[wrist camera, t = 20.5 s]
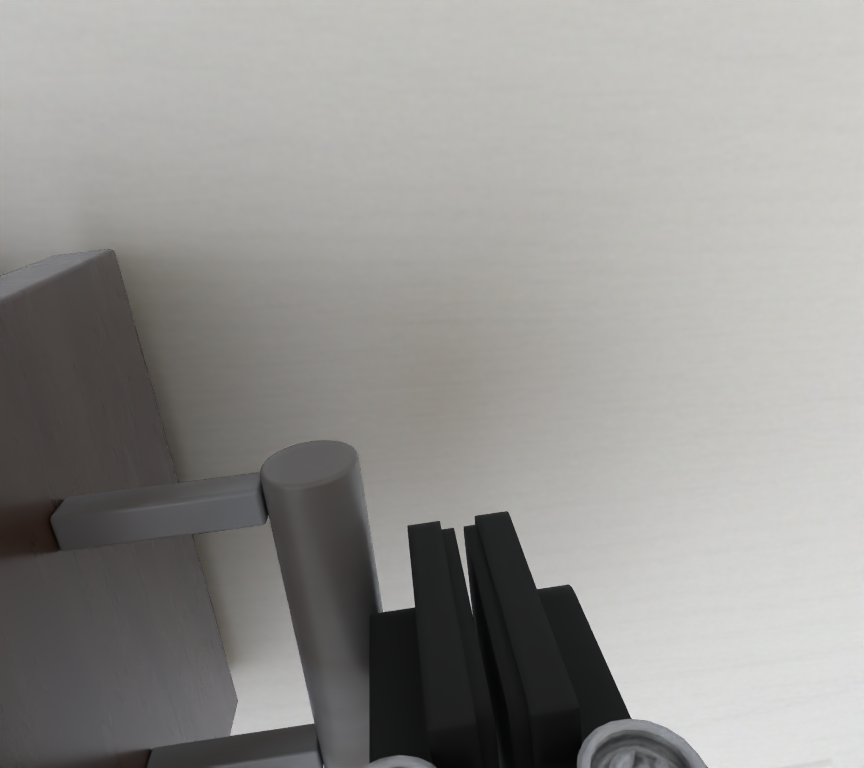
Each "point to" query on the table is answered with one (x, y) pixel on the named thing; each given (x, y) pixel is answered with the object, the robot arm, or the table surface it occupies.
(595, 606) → the table surface
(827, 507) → the table surface
